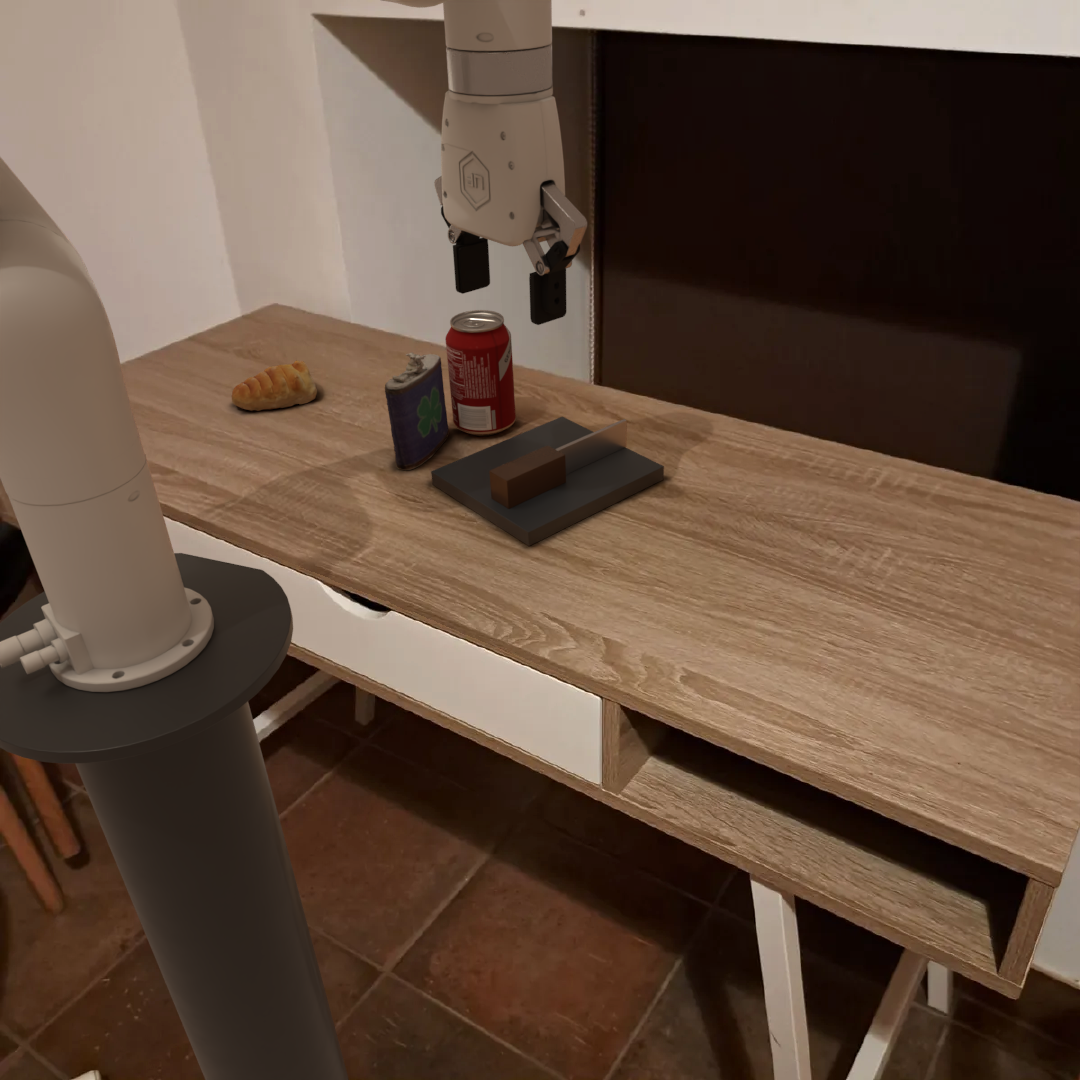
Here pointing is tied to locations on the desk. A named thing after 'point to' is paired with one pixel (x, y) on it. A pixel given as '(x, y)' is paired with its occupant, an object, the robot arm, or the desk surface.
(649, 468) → the board
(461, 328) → the soda can
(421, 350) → the desk surface
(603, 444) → the knife
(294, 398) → the pastry
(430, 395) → the flask
